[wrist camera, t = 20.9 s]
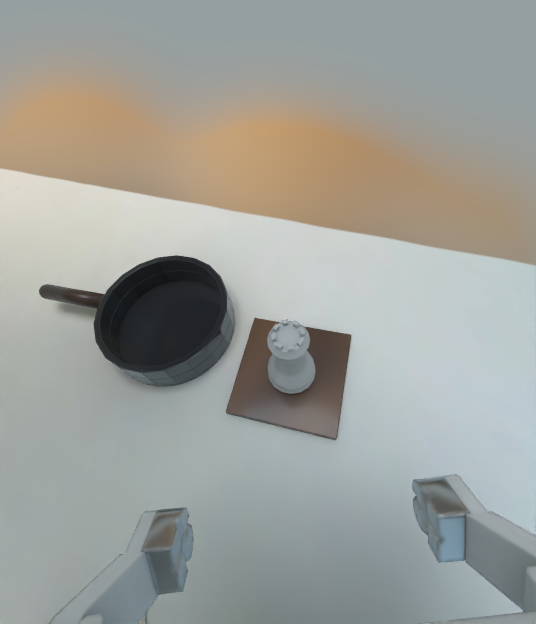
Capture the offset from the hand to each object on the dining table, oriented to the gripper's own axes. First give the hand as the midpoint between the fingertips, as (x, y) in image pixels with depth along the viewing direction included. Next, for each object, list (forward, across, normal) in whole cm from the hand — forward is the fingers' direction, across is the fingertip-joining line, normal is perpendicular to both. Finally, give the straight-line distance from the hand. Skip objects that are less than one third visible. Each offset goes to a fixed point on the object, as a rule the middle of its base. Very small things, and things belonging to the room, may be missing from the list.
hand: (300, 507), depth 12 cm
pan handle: (+25, +21, -5) cm, 33 cm away
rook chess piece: (+19, -1, +4) cm, 19 cm away
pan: (+24, +11, -1) cm, 27 cm away
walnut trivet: (+20, -1, +4) cm, 20 cm away
